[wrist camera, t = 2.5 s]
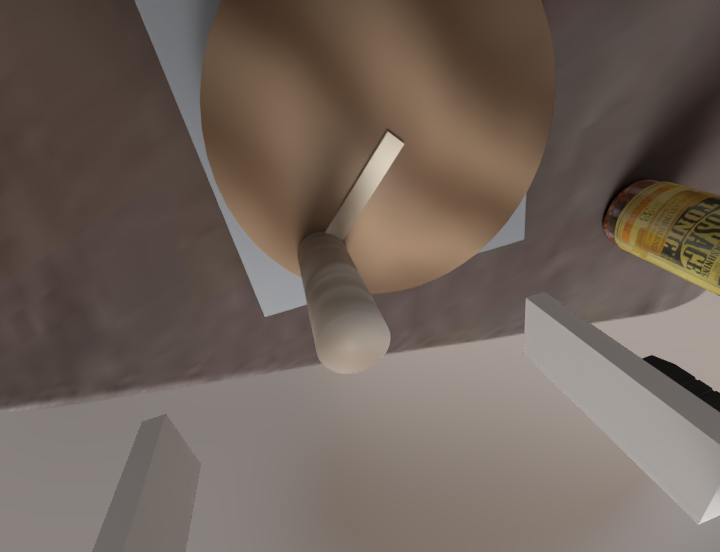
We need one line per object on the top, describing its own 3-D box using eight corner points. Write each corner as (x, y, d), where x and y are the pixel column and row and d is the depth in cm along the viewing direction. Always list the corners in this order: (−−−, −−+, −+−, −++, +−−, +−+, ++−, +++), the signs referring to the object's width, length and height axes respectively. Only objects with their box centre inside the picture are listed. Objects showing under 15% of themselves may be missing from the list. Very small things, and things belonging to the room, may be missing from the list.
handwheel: (325, -210, 15) (464, -890, 5) (574, 83, 24) (820, 75, 13) (151, 188, 21) (34, 286, 10) (406, 309, 29) (486, 431, 19)
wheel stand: (112, -62, 16) (106, -69, 16) (531, -130, 19) (541, -139, 18) (264, 311, 27) (265, 316, 27) (517, 236, 30) (524, 239, 29)
